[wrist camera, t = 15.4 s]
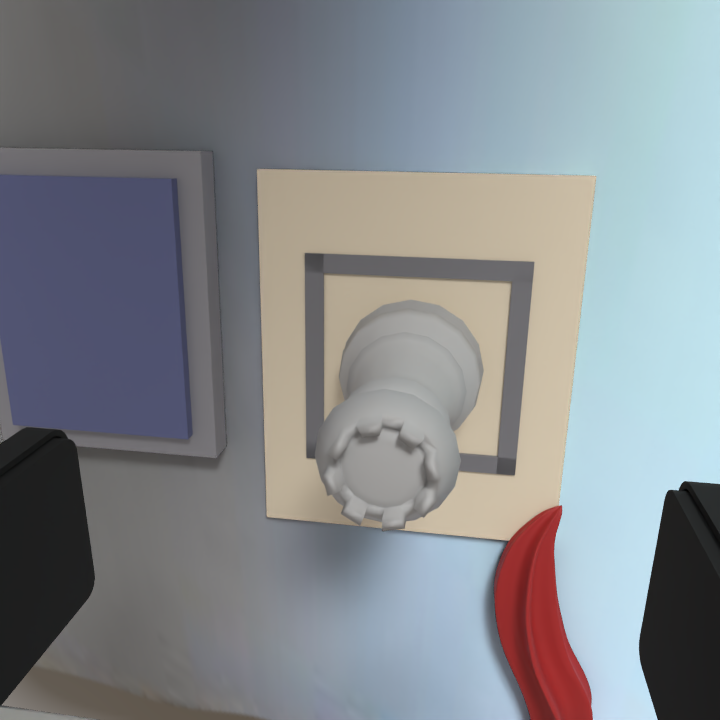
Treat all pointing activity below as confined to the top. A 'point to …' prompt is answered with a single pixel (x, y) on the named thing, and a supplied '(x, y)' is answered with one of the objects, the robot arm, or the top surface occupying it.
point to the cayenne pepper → (538, 624)
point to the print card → (436, 286)
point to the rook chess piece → (399, 413)
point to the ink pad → (111, 299)
